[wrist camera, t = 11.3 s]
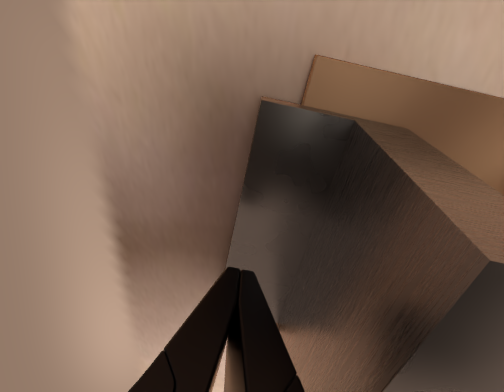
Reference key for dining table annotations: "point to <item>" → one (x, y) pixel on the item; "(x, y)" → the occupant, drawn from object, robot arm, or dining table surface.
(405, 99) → the shelf
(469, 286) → the bookend
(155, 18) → the dining table surface
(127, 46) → the dining table surface
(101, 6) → the dining table surface
